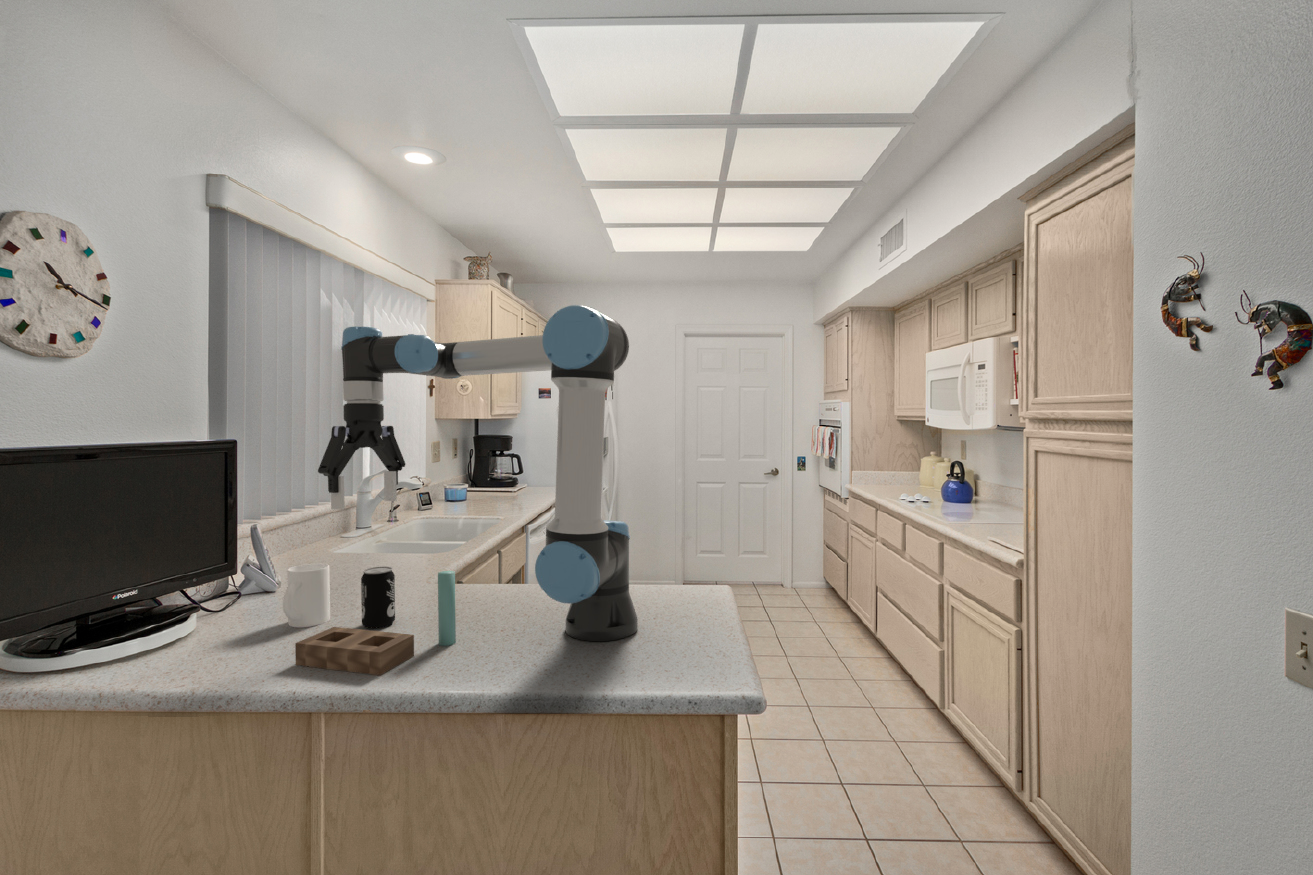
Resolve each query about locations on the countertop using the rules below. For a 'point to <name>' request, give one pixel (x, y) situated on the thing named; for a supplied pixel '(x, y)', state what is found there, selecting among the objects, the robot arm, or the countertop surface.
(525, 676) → the countertop surface
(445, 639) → the peg
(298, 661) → the hole block
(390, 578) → the beverage can
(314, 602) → the mug
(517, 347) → the robot arm
